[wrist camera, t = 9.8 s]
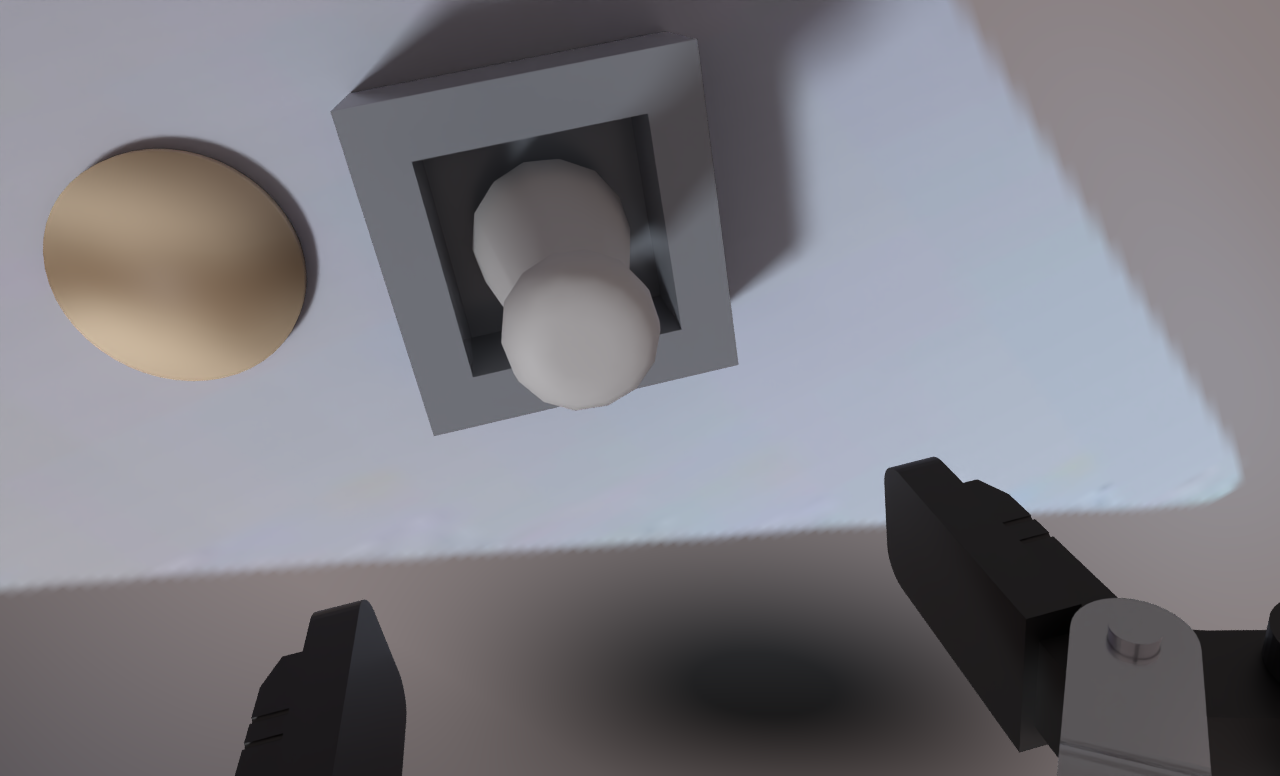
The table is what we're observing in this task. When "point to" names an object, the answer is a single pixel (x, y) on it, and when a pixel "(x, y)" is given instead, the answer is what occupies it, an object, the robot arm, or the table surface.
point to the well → (533, 131)
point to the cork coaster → (175, 264)
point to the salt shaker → (565, 284)
